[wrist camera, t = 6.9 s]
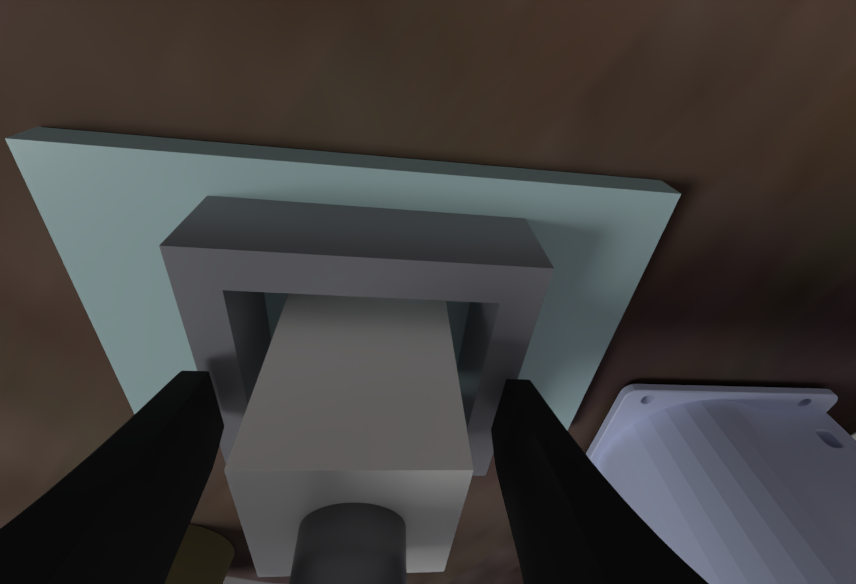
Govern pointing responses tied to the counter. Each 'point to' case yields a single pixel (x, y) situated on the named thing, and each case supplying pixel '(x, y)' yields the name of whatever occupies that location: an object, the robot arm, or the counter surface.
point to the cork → (201, 558)
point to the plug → (353, 443)
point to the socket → (339, 257)
